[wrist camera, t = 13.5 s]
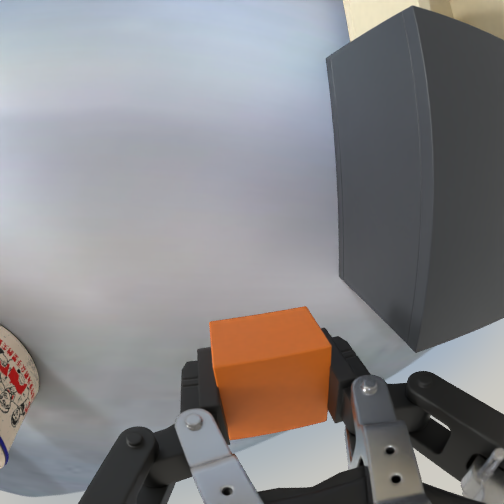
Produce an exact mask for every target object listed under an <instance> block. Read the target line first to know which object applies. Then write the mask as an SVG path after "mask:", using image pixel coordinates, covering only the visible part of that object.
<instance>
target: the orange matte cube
mask: <svg viewBox="0 0 504 504" xmlns="http://www.w3.org/2000/svg"><path fill="white" fill-rule="evenodd" d="M209 325H210V339H211V352H212V364H213V371H214V375H215V380H216V385H217V387H218V388H219V392H220V397H221V401H222V406H223V410H224V414H225V418H226V423H227V427H228V434H229V439H230V440H235V439H242V438H248V437H254V436H260V435H266V434H271V433H276V432H281V431H286V430H291V429H296V428H300V427H304V426H308V425H313V424H316V423H321V422H325V421H326V420H327V412H328V408H327V405H328V391H329V376H330V366H331V350H332V346H331V344H330V343H329V341H328V339H327V338H326V336H325V335H324V333H323V332H322V330H321V329H320V327H319V325H318V324H317V322H316V321H315V319H314V318H313V316H312V315H311V313H310V311H309V310H308V308H307V307H306V306H304V307H299V308H293V309H288V310H282V311H276V312H270V313H264V314H258V315H251V316H245V317H238V318H232V319H225V320H218V321H211V322H210V323H209Z"/></svg>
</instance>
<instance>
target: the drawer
mask: <svg viewBox="0 0 504 504" xmlns="http://www.w3.org/2000/svg"><path fill="white" fill-rule="evenodd" d="M343 4H344V9H345V15H346V20H347V25H348V31H349V37H350V42H351V41H353V40H354V39H356V38H357V37H359V36H361V35H362V34H364V33H365V32H367V31H369V30H370V29H372V28H374V27H375V26H377V25H378V24H380V23H382V22H384V21H385V20H387V19H389V18H390V17H392V16H394V15H396V14H397V13H399V12H401V11H403V10H405V9H406V8H408V7H410V6H412V5H413V6H417V7H420V8H424V9H427V10H430V11H433V12H436V13H439V14H442V15H445V16H448V17H451V18H453V19H456V20H459V21H461V22H464V23H466V24H469V25H471V26H474V27H476V28H479V29H481V30H483V31H485V32H488V33H490V34H492V35H494V36H496V37H499V38H501V39H503V40H504V0H343Z"/></svg>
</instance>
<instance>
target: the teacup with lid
mask: <svg viewBox="0 0 504 504" xmlns="http://www.w3.org/2000/svg"><path fill="white" fill-rule="evenodd" d="M38 389H39V376H38V372H37V369H36V366H35V364H34V362H33V360H32V358H31V356H30V355H29V353H28V352H27V350H26V349H25V347H24V346H23V345H22V344H21V343H20V341H19V340H18V339H17V338H16V337H15V336H14V335H13V334H12V333H10V332H9V331H8V330H7V329H5V328H4V327H2V326H0V469H1V468H2V467H3V466H4V465H6V464H7V462H8V459H9V455H8V452H9V449H10V447H11V445H12V443H13V441H14V438H15V436H16V434H17V432H18V430H19V428H20V426H21V424H22V422H23V420H24V418H25V416H26V414H27V412H28V410H29V408H30V406H31V404H32V402H33V400H34V398H35V396H36V394H37V392H38Z"/></svg>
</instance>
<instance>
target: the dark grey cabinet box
mask: <svg viewBox="0 0 504 504" xmlns="http://www.w3.org/2000/svg"><path fill="white" fill-rule="evenodd" d="M326 63H327V71H328V79H329V88H330V97H331V107H332V117H333V129H334V141H335V155H336V171H337V191H338V218H339V277H340V278H341V279H342V280H344V282H345V283H346V284H347V285H348V286H349V287H350V288H351V289H352V290H353V291H355V292H356V293H357V294H358V295H359V296H360V297H361V298H362V299H363V300H364V301H365V302H366V303H367V304H368V305H369V306H370V307H371V308H372V309H373V310H374V311H375V312H376V313H377V314H378V315H379V316H380V317H381V318H382V319H383V320H384V321H385V322H386V323H387V324H388V325H389V326H390V327H391V328H392V329H393V330H394V331H395V332H396V333H397V334H398V335H399V336H400V337H401V338H402V339H403V340H404V341H405V342H406V343H407V344H408V345H409V346H410V348H411V349H412V350H413V351H414V352H415V353H417V352H420V351H423V350H425V349H428V348H431V347H434V346H437V345H439V344H442V343H445V342H447V341H450V340H453V339H455V338H458V337H460V336H463V335H465V334H468V333H470V332H472V331H475V330H477V329H480V328H482V327H484V326H487V325H489V324H491V323H493V322H496V321H498V320H500V319H502V318H504V40H503V39H501V38H499V37H496V36H494V35H492V34H490V33H488V32H485V31H483V30H481V29H479V28H476V27H474V26H471V25H469V24H466V23H464V22H461V21H459V20H456V19H453V18H451V17H448V16H445V15H442V14H439V13H436V12H433V11H430V10H427V9H424V8H420V7H417V6H413V5H412V6H410V7H408V8H406V9H405V10H403V11H401V12H399V13H397V14H396V15H394V16H392V17H390V18H389V19H387V20H385V21H384V22H382V23H380V24H378V25H377V26H375V27H374V28H372V29H370V30H369V31H367V32H365V33H364V34H362V35H361V36H359V37H357V38H356V39H354V40H353V41H351V42H350V43H348V44H347V45H345V46H343V47H342V48H340V49H339V50H337V51H336V52H334V53H333V54H331V55H330V56H329V57H327V58H326Z"/></svg>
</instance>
